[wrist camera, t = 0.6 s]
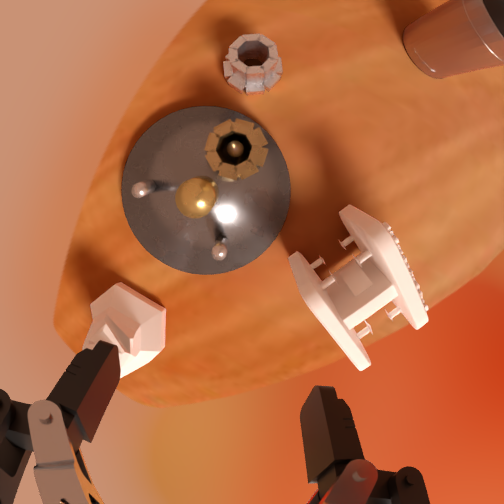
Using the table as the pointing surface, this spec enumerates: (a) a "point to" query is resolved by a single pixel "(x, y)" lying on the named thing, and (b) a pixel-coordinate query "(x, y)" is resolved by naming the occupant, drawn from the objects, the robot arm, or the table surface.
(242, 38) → the gear
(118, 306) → the white faceted rock
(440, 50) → the robot arm
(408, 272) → the cable organizer
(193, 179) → the carrier
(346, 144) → the table surface
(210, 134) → the seated gear
